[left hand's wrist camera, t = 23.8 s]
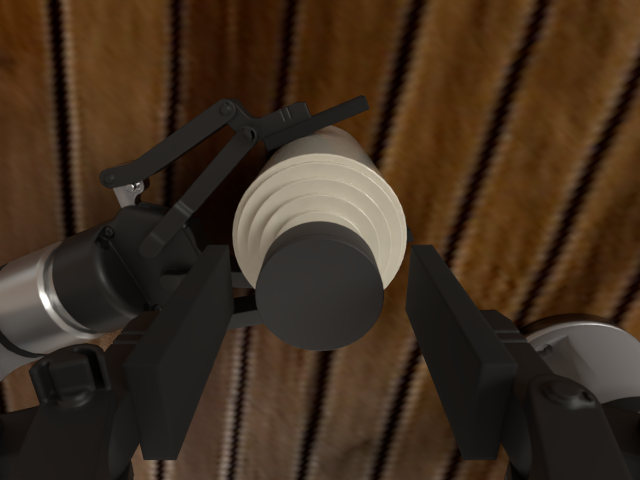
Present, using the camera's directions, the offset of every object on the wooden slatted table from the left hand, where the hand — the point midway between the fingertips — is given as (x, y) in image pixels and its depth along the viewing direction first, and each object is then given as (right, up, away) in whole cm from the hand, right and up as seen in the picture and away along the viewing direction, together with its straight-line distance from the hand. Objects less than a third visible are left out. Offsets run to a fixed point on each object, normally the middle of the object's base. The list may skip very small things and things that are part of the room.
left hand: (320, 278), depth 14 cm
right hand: (+4, +6, +11) cm, 13 cm away
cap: (0, 0, -1) cm, 1 cm away
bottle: (0, +7, +17) cm, 18 cm away
